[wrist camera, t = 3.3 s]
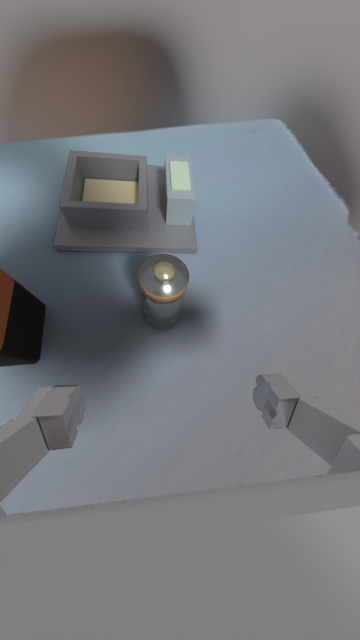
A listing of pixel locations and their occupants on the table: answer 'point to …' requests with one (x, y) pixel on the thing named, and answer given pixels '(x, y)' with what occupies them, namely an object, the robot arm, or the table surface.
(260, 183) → the table surface
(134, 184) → the tester
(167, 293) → the cell
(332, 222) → the table surface
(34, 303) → the battery
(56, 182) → the table surface
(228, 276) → the table surface
